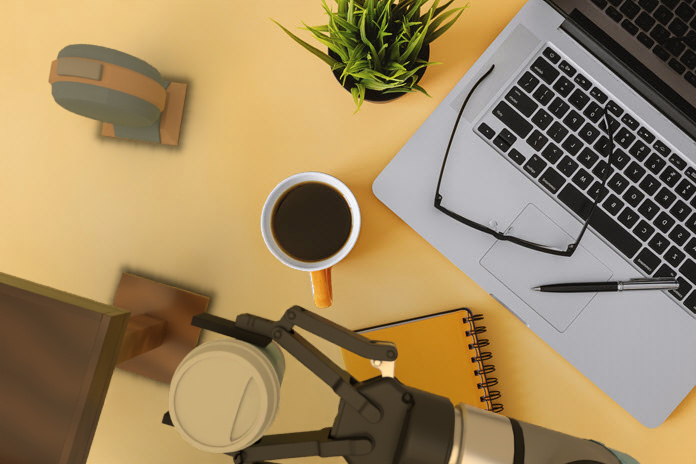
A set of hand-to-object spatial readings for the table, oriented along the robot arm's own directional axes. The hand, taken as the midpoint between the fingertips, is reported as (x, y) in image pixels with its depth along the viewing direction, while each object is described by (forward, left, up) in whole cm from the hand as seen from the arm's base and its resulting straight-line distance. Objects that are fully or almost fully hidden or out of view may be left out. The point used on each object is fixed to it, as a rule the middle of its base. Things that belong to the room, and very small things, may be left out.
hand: (183, 365), depth 41 cm
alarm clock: (+15, +34, -33) cm, 50 cm away
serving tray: (-12, +13, -4) cm, 18 cm away
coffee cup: (+1, -5, -7) cm, 8 cm away
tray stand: (-12, +13, -33) cm, 37 cm away
